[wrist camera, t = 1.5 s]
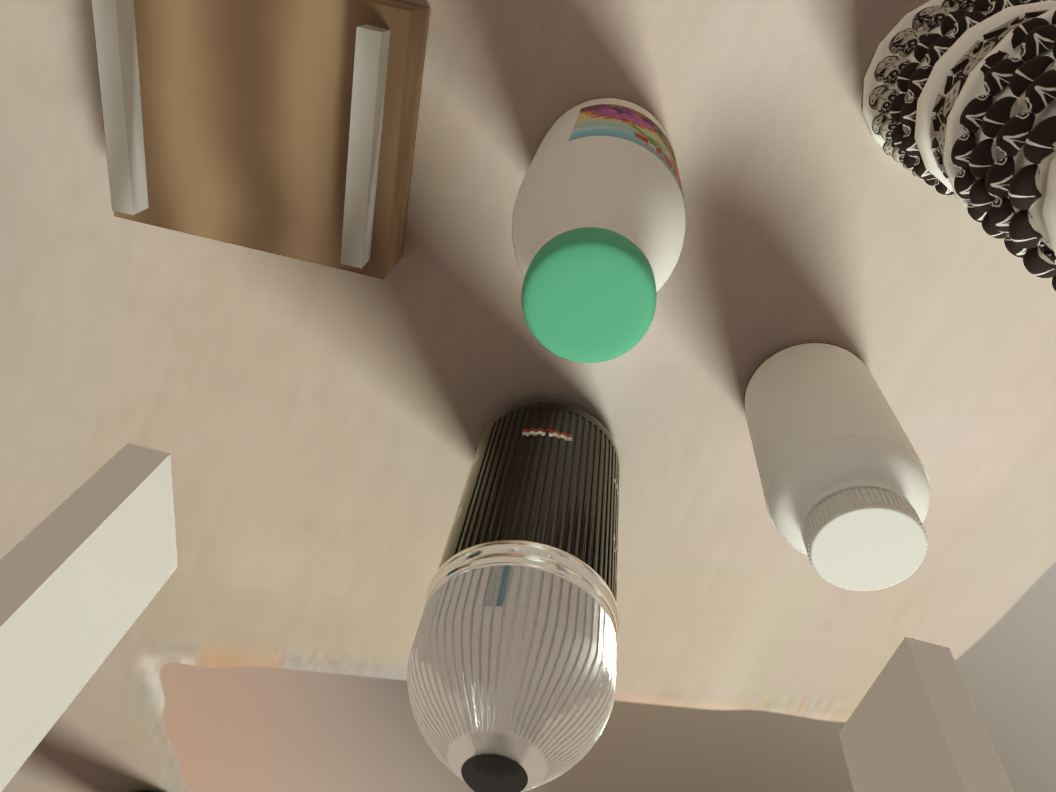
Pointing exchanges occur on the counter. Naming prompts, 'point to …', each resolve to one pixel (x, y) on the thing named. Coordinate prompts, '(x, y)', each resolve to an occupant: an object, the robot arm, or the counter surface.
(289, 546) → the counter surface
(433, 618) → the black water bottle
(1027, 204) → the decorative candle
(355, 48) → the display riser
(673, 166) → the milk bottle
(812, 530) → the pill bottle
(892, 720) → the robot arm
